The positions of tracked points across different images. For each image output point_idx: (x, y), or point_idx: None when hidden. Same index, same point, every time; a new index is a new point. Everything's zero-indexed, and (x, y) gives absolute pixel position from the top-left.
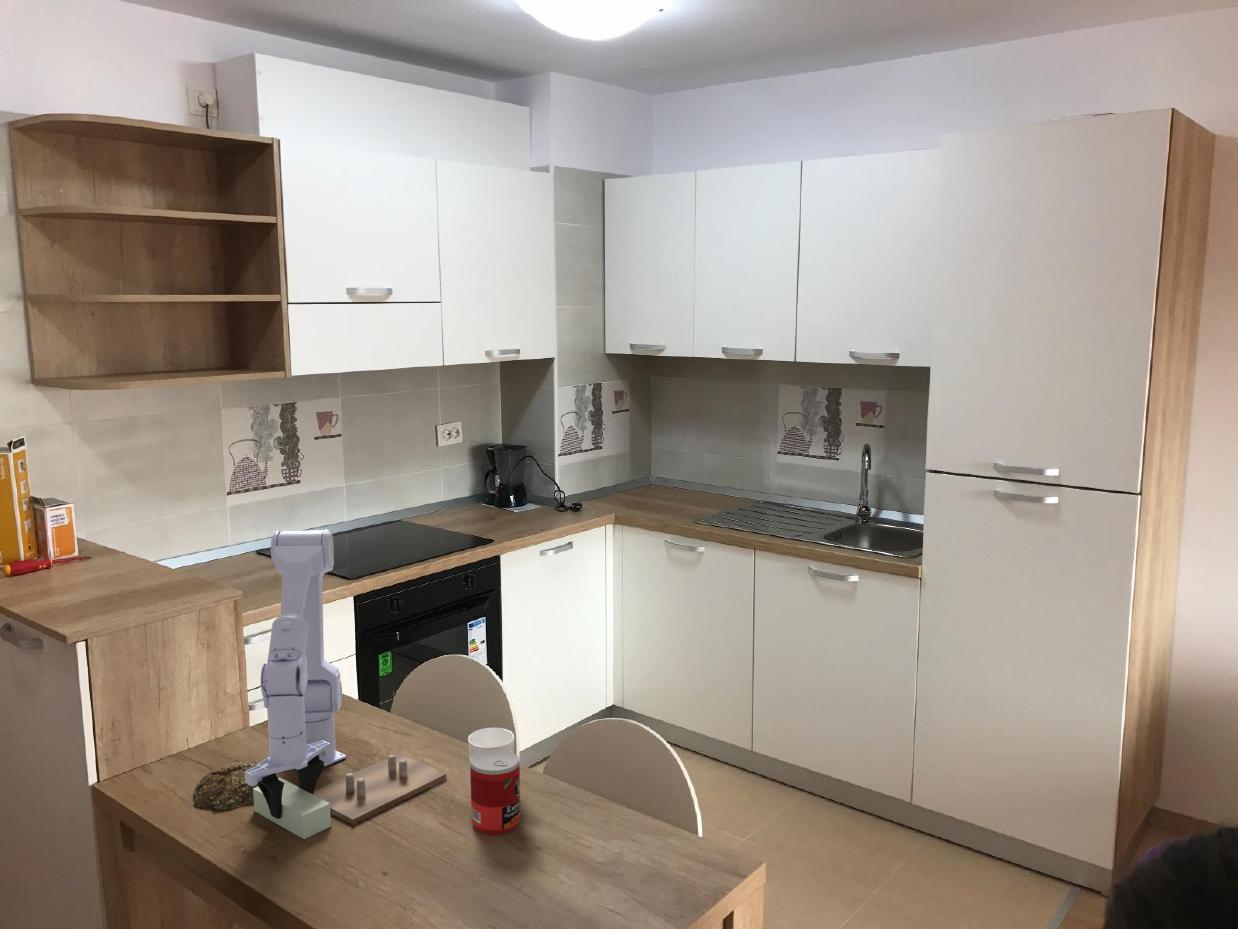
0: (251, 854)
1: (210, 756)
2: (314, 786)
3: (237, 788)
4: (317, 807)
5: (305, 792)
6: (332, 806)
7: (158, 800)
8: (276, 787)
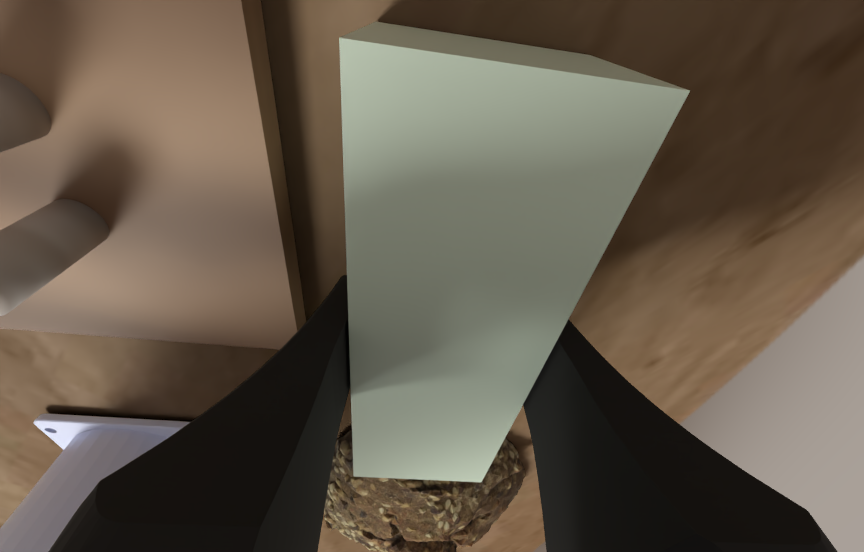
0: (789, 195)
1: (352, 539)
2: (296, 345)
3: (455, 487)
4: (481, 95)
5: (362, 343)
6: (251, 179)
7: (531, 512)
8: (772, 521)
